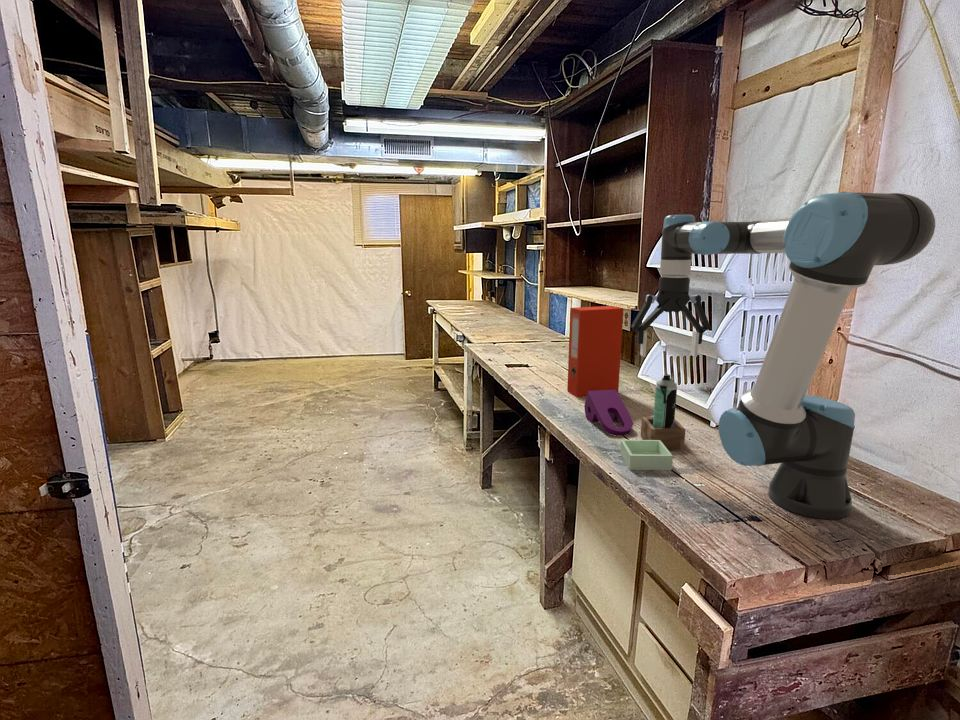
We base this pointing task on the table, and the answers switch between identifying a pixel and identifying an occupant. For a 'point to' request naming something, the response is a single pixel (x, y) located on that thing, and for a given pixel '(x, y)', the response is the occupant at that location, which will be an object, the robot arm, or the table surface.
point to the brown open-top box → (664, 434)
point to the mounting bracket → (608, 411)
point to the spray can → (665, 403)
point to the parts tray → (646, 455)
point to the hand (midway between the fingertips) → (668, 355)
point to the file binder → (594, 349)
